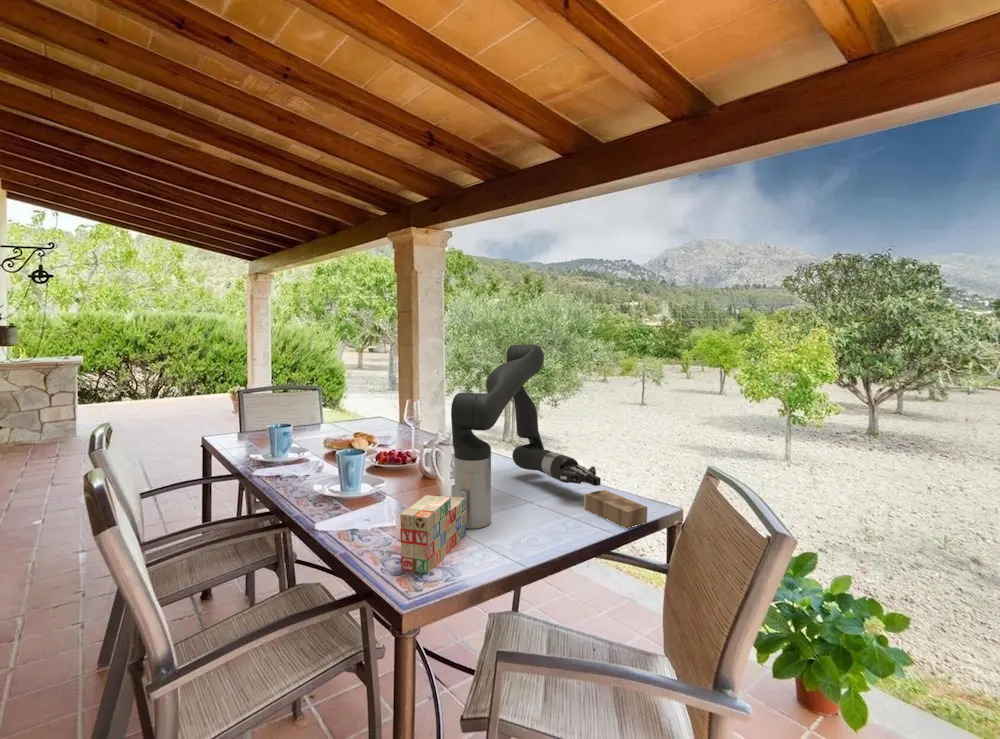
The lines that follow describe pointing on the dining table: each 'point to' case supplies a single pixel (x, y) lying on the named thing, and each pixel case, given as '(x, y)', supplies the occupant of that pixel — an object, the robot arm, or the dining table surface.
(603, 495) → the walnut block
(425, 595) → the dining table surface
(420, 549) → the stack of blocks
